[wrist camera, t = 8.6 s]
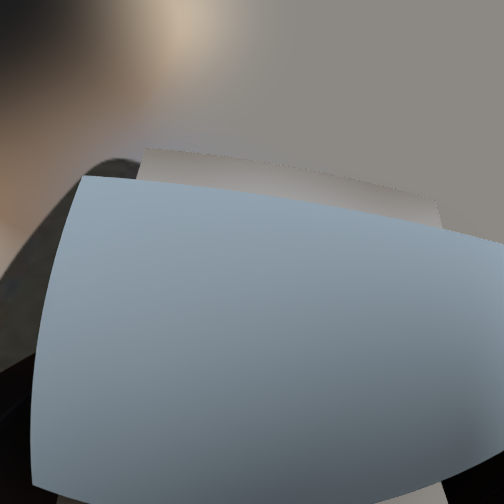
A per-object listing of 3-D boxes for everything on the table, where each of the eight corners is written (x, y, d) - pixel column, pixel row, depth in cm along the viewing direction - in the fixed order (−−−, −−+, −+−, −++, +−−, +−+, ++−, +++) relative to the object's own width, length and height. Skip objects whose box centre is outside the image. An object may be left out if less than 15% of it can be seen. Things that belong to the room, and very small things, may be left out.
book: (294, 413, 14) (544, 424, 3) (161, 406, 13) (32, 484, 2) (295, 356, 15) (525, 250, 4) (165, 346, 14) (81, 175, 3)
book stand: (285, 453, 14) (450, 530, 3) (161, 449, 13) (104, 574, 2) (288, 297, 18) (421, 159, 7) (174, 286, 17) (160, 106, 6)
